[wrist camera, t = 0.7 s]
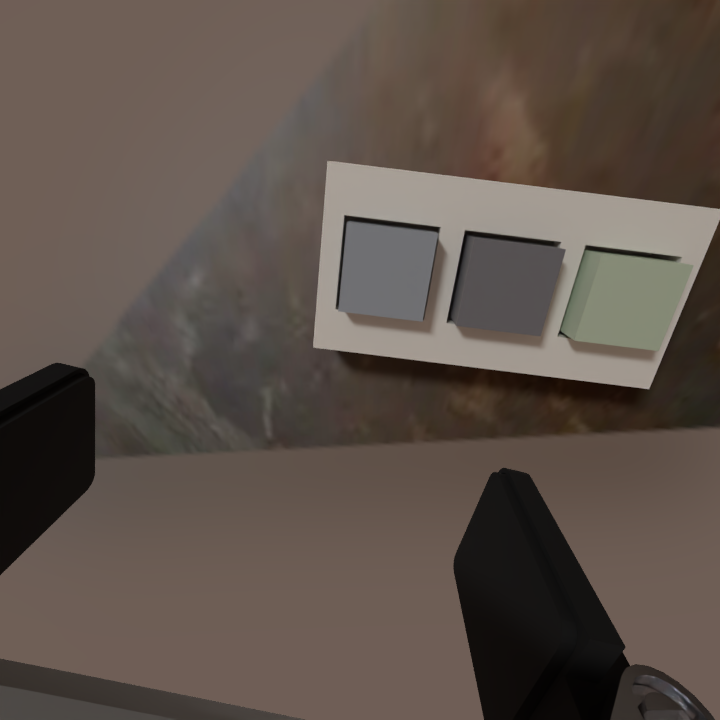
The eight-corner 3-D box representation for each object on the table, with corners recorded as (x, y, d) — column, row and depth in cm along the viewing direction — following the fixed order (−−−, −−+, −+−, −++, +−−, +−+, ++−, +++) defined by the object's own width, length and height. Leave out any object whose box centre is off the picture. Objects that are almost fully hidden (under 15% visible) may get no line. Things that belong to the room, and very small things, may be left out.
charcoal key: (544, 244, 25) (566, 249, 22) (523, 322, 27) (540, 336, 24) (464, 234, 25) (474, 238, 22) (448, 313, 27) (456, 326, 24)
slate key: (431, 230, 25) (438, 233, 22) (417, 309, 27) (422, 321, 24) (350, 220, 25) (346, 222, 22) (342, 300, 27) (338, 311, 24)
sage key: (658, 258, 25) (693, 265, 22) (629, 335, 27) (658, 351, 24) (577, 248, 25) (602, 254, 22) (553, 326, 27) (574, 340, 24)
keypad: (674, 208, 26) (723, 209, 22) (615, 366, 30) (649, 389, 26) (335, 167, 26) (327, 160, 22) (321, 329, 30) (313, 347, 26)
